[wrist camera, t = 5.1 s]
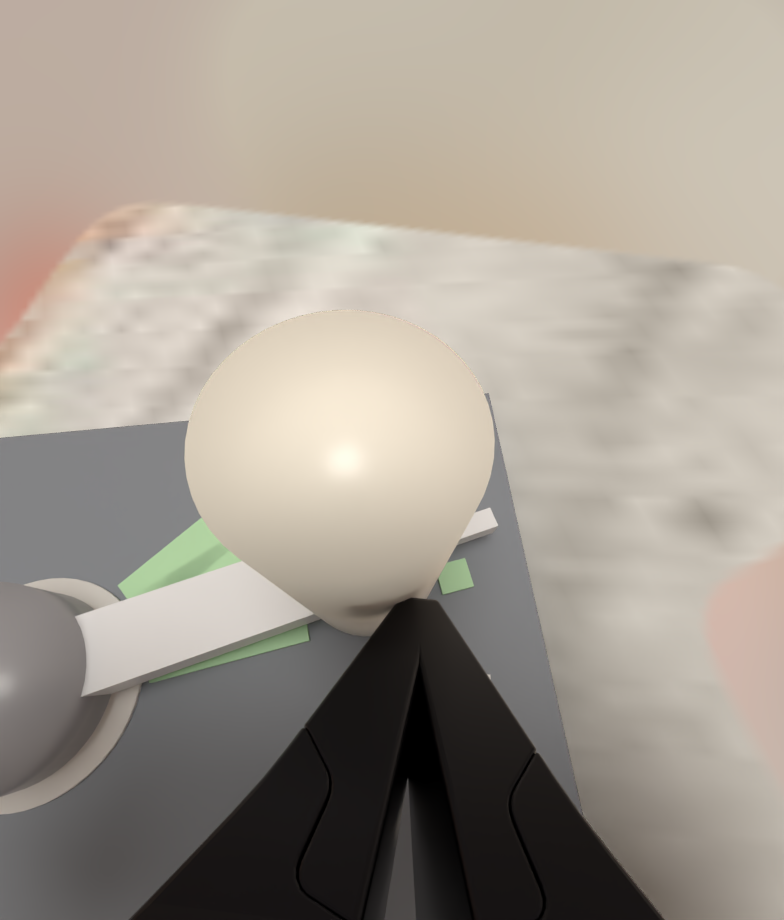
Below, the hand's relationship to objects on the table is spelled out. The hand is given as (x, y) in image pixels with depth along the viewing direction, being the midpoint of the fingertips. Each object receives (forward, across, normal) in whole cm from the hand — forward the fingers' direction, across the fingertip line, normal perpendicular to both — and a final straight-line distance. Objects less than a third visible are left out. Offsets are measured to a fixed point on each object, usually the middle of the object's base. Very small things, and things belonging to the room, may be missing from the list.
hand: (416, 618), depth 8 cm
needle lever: (+4, +5, +4) cm, 8 cm away
